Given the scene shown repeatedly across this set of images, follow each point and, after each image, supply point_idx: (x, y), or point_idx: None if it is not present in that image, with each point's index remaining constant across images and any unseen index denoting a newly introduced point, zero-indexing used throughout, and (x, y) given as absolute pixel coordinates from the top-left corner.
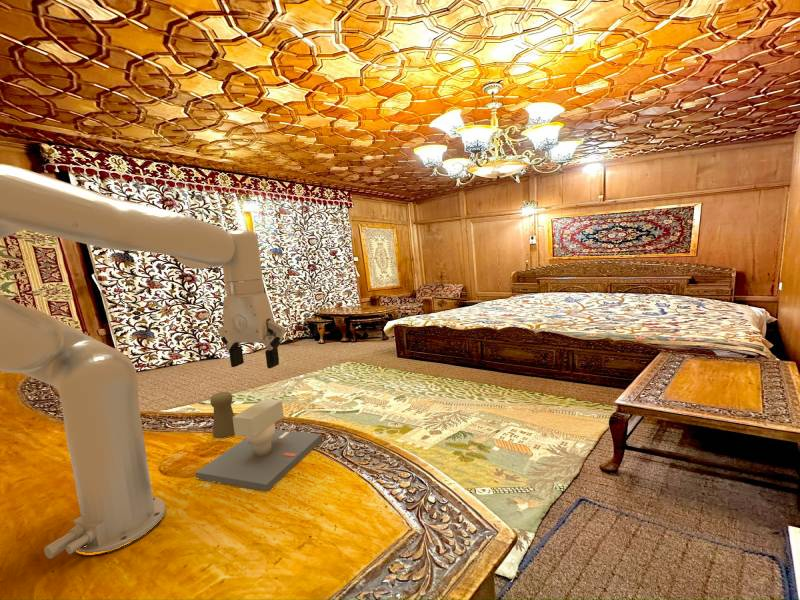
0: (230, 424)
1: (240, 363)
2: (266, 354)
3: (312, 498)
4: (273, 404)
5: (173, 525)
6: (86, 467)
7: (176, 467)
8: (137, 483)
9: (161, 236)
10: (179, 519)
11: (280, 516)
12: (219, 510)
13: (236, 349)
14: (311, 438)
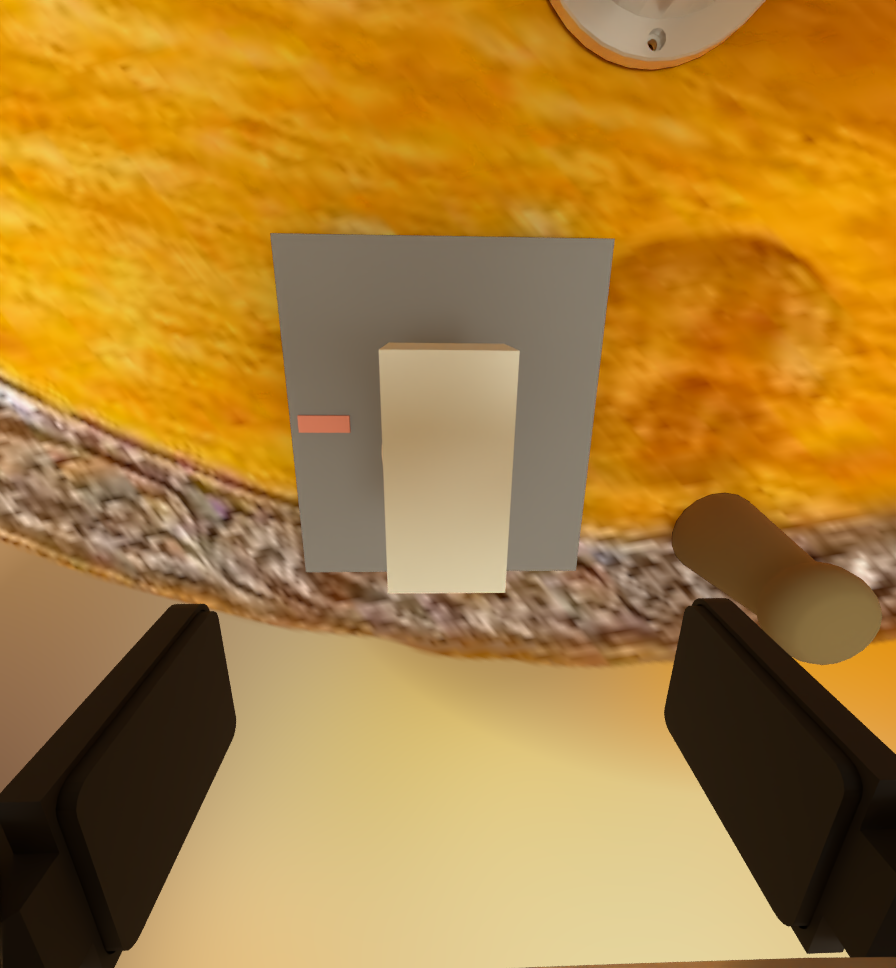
0: (703, 545)
1: (674, 686)
2: (77, 735)
3: (99, 243)
4: (395, 539)
5: None
6: None
7: (744, 291)
8: None
9: None
10: (478, 8)
11: (132, 124)
12: (370, 96)
13: (810, 842)
14: (322, 539)
